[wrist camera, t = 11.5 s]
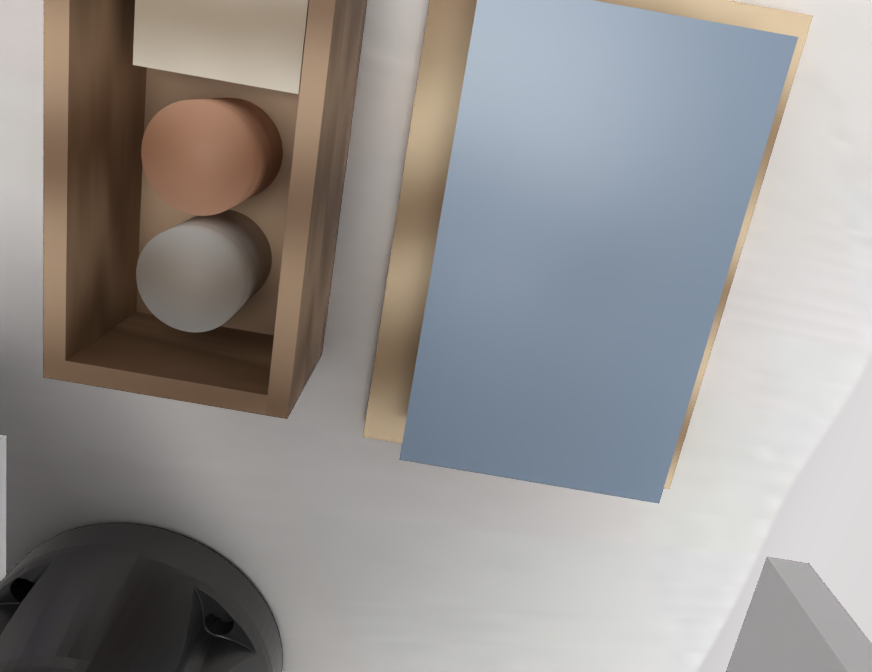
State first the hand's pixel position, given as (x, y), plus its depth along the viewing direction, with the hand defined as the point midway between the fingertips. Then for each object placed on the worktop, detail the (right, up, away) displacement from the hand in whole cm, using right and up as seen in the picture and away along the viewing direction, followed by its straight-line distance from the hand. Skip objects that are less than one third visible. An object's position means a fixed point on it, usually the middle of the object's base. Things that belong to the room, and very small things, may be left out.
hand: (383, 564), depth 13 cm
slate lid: (+6, +8, +18) cm, 20 cm away
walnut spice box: (-7, +11, +19) cm, 23 cm away
